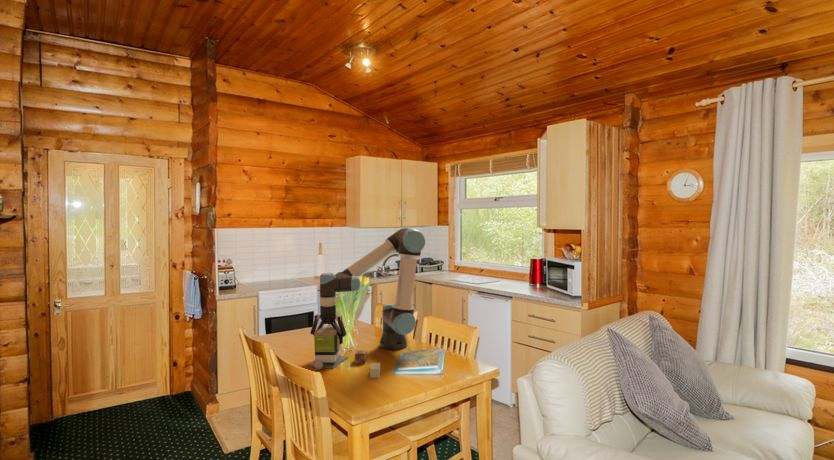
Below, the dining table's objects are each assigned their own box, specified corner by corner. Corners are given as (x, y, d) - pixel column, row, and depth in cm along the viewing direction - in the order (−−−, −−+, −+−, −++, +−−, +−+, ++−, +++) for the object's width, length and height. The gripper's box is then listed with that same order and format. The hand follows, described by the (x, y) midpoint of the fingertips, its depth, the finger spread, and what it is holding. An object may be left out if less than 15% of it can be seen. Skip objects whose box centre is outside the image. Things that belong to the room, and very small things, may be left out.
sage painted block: (380, 371, 214) (380, 363, 214) (379, 377, 206) (379, 369, 206) (371, 371, 214) (371, 363, 214) (370, 378, 206) (370, 369, 206)
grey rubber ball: (324, 368, 218) (324, 360, 218) (320, 371, 214) (320, 362, 214) (316, 367, 219) (316, 359, 219) (312, 370, 215) (312, 362, 215)
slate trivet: (347, 358, 232) (347, 356, 232) (333, 368, 217) (333, 367, 217) (324, 355, 236) (324, 354, 236) (308, 366, 221) (308, 364, 221)
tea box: (322, 352, 234) (321, 323, 233) (342, 352, 234) (341, 324, 233) (314, 362, 219) (313, 331, 218) (335, 363, 219) (334, 332, 218)
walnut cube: (366, 360, 229) (366, 350, 229) (365, 363, 224) (365, 353, 224) (356, 360, 229) (356, 350, 229) (355, 363, 224) (354, 353, 224)
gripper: (353, 304, 226) (353, 349, 227) (310, 302, 232) (311, 345, 233) (346, 307, 218) (347, 353, 219) (302, 305, 225) (303, 349, 226)
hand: (328, 349), depth 226 cm, fingers closed on tea box, 11 cm apart
